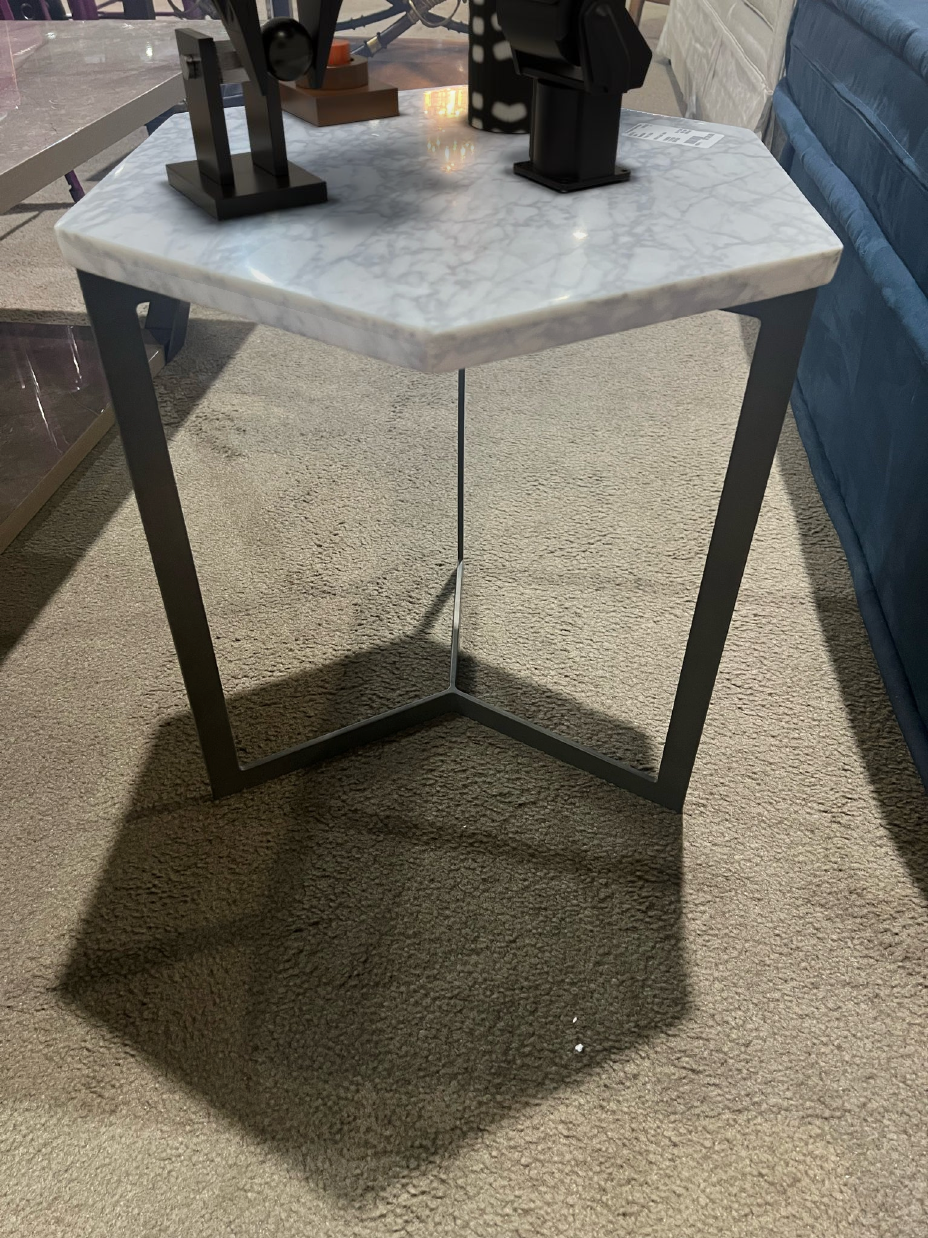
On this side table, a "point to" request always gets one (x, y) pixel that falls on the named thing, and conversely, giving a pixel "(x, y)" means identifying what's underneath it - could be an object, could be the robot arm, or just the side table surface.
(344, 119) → the button block
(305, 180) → the bracket
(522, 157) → the side table surface
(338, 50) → the button
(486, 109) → the spotted black cylinder
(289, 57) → the lever
